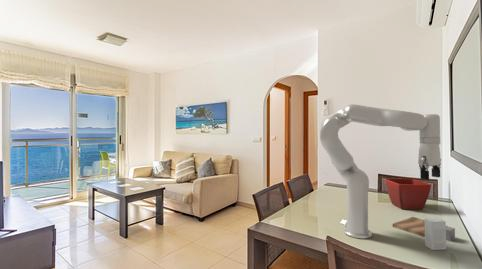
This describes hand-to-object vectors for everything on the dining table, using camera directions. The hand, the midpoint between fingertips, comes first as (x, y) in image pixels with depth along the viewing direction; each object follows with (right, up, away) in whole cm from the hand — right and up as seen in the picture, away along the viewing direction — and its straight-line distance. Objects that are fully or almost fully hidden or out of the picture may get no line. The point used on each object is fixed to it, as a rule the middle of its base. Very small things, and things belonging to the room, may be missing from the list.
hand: (430, 178), depth 111 cm
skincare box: (-5, -28, -8) cm, 30 cm away
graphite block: (+8, -28, +1) cm, 29 cm away
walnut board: (+4, -28, +12) cm, 31 cm away
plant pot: (+22, -28, +47) cm, 59 cm away
